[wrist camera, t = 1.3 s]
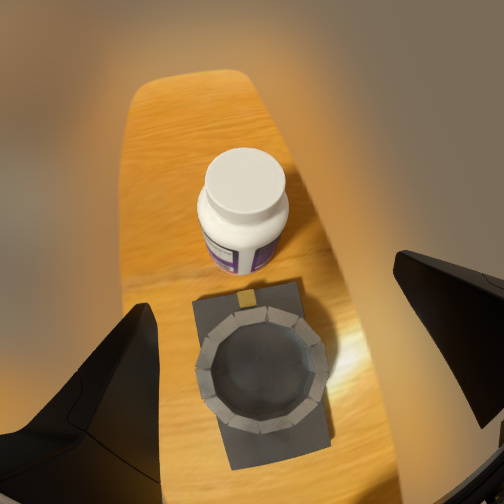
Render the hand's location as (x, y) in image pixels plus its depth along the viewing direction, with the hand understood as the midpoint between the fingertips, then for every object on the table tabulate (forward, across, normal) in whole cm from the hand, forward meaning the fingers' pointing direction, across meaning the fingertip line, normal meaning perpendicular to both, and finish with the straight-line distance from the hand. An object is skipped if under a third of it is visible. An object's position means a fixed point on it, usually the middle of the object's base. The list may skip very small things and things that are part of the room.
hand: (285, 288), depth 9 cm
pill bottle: (+13, 0, +5) cm, 14 cm away
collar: (+6, 0, +10) cm, 12 cm away
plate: (+5, 0, +12) cm, 13 cm away
